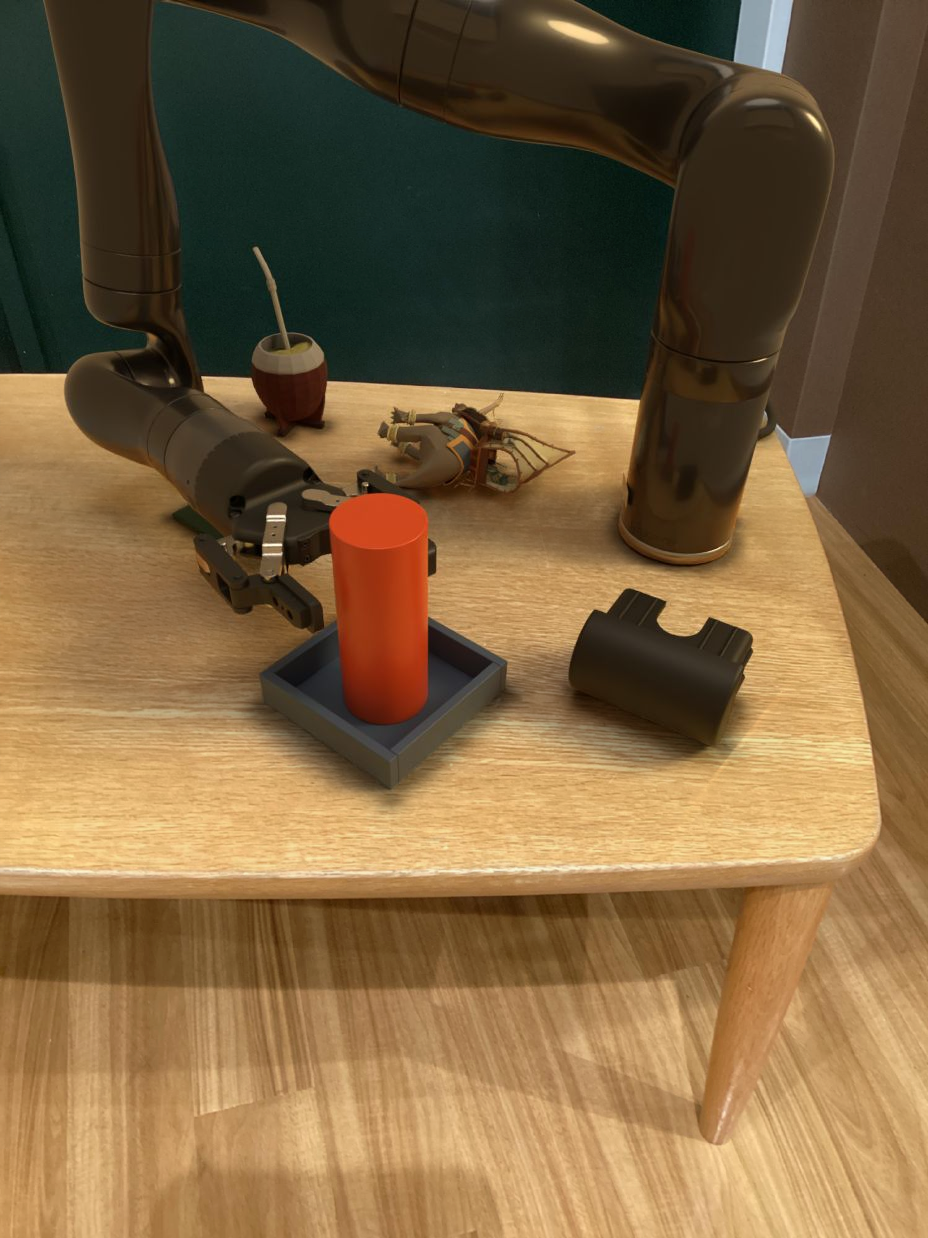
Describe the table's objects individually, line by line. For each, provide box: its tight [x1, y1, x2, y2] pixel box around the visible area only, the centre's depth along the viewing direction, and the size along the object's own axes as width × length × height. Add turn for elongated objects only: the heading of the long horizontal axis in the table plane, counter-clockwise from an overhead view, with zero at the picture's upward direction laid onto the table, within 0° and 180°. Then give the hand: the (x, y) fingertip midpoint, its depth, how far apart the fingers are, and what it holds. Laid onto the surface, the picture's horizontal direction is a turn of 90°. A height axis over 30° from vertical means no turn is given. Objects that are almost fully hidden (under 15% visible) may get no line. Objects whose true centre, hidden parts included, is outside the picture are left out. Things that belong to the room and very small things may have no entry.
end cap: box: [567, 587, 754, 747], centre depth 59 cm, size 10×7×7 cm
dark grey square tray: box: [258, 616, 508, 791], centre depth 61 cm, size 11×11×3 cm
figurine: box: [374, 392, 576, 496], centre depth 81 cm, size 20×6×17 cm
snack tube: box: [329, 493, 429, 725], centre depth 57 cm, size 6×6×14 cm
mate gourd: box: [250, 246, 328, 438], centre depth 85 cm, size 8×8×15 cm
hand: (377, 591), depth 56 cm, fingers open, 8 cm apart
